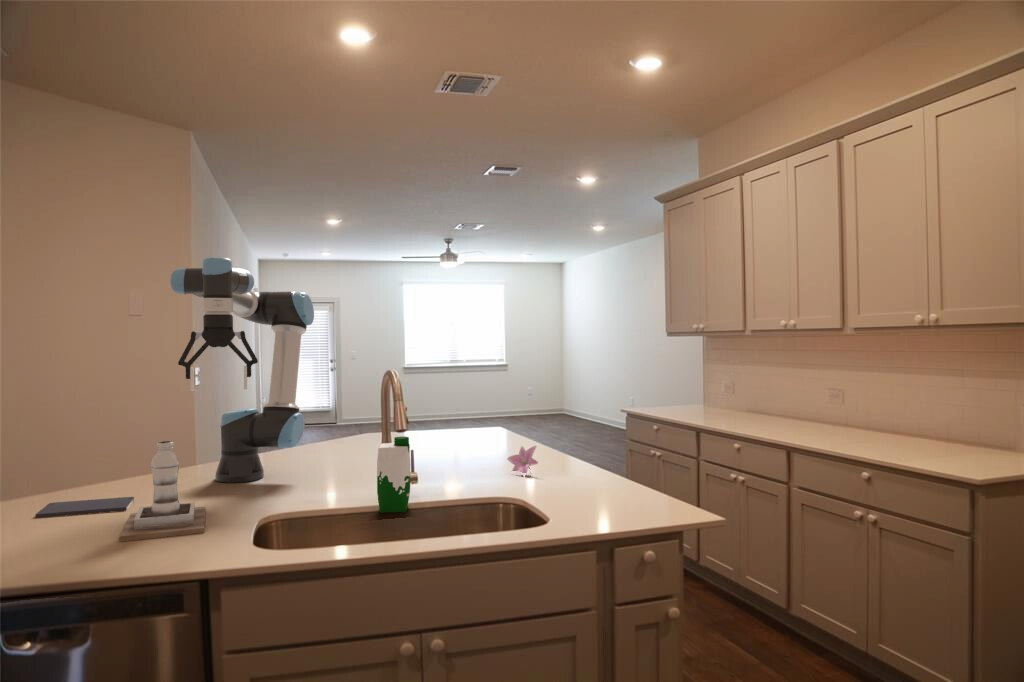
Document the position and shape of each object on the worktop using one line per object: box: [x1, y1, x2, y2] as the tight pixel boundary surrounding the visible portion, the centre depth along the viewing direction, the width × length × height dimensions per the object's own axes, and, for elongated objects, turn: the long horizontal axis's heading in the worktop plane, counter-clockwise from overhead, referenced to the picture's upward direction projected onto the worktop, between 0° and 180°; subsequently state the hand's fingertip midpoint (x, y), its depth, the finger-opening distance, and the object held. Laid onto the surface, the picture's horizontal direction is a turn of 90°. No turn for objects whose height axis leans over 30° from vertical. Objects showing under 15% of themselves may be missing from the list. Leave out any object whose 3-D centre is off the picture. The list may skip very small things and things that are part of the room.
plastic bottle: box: [150, 440, 180, 517], centre depth 170 cm, size 6×7×20 cm
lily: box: [506, 445, 539, 473], centre depth 234 cm, size 12×12×10 cm
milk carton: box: [376, 436, 411, 514], centre depth 186 cm, size 9×9×20 cm
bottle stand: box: [119, 501, 207, 543], centre depth 170 cm, size 22×18×4 cm
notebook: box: [34, 496, 135, 519], centre depth 186 cm, size 13×2×21 cm
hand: (219, 390), depth 186 cm, fingers open, 13 cm apart
